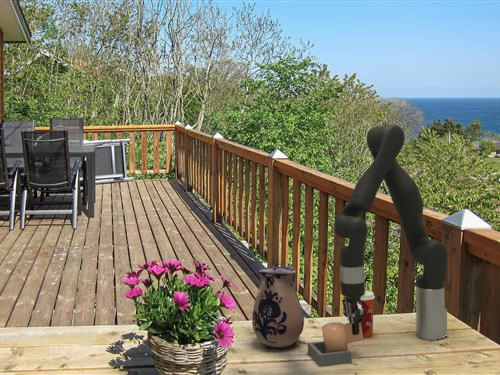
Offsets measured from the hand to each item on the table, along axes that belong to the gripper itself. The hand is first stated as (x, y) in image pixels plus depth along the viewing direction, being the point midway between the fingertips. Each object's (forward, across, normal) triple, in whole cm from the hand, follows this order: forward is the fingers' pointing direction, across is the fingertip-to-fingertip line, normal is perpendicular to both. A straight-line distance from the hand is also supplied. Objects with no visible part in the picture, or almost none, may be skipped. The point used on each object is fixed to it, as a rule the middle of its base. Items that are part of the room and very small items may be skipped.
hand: (354, 333), depth 186 cm
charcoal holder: (+7, 0, +8) cm, 11 cm away
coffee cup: (+8, +16, -10) cm, 20 cm away
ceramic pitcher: (+7, +19, +19) cm, 28 cm away
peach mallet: (+4, 0, +3) cm, 6 cm away
